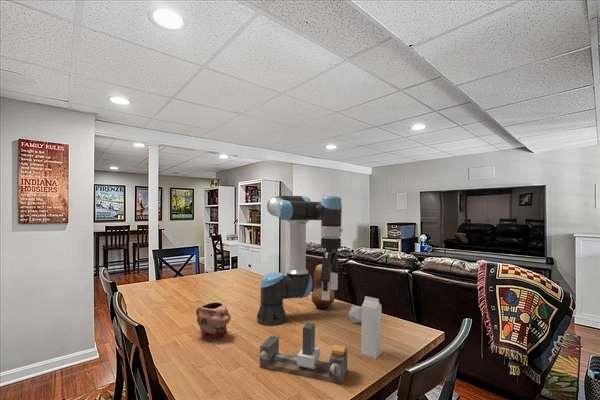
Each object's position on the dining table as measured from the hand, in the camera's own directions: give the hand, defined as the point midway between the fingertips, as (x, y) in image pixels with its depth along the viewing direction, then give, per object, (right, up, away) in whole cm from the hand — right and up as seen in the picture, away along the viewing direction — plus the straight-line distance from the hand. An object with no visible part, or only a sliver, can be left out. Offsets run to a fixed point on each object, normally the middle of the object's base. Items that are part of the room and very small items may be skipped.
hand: (330, 294), depth 106 cm
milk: (+17, -26, +7) cm, 32 cm away
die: (+18, -28, +39) cm, 51 cm away
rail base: (-10, -25, -5) cm, 27 cm away
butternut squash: (+2, -28, +62) cm, 68 cm away
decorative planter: (-51, -26, +21) cm, 61 cm away
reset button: (+2, -20, -9) cm, 22 cm away
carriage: (-8, -23, -5) cm, 25 cm away
